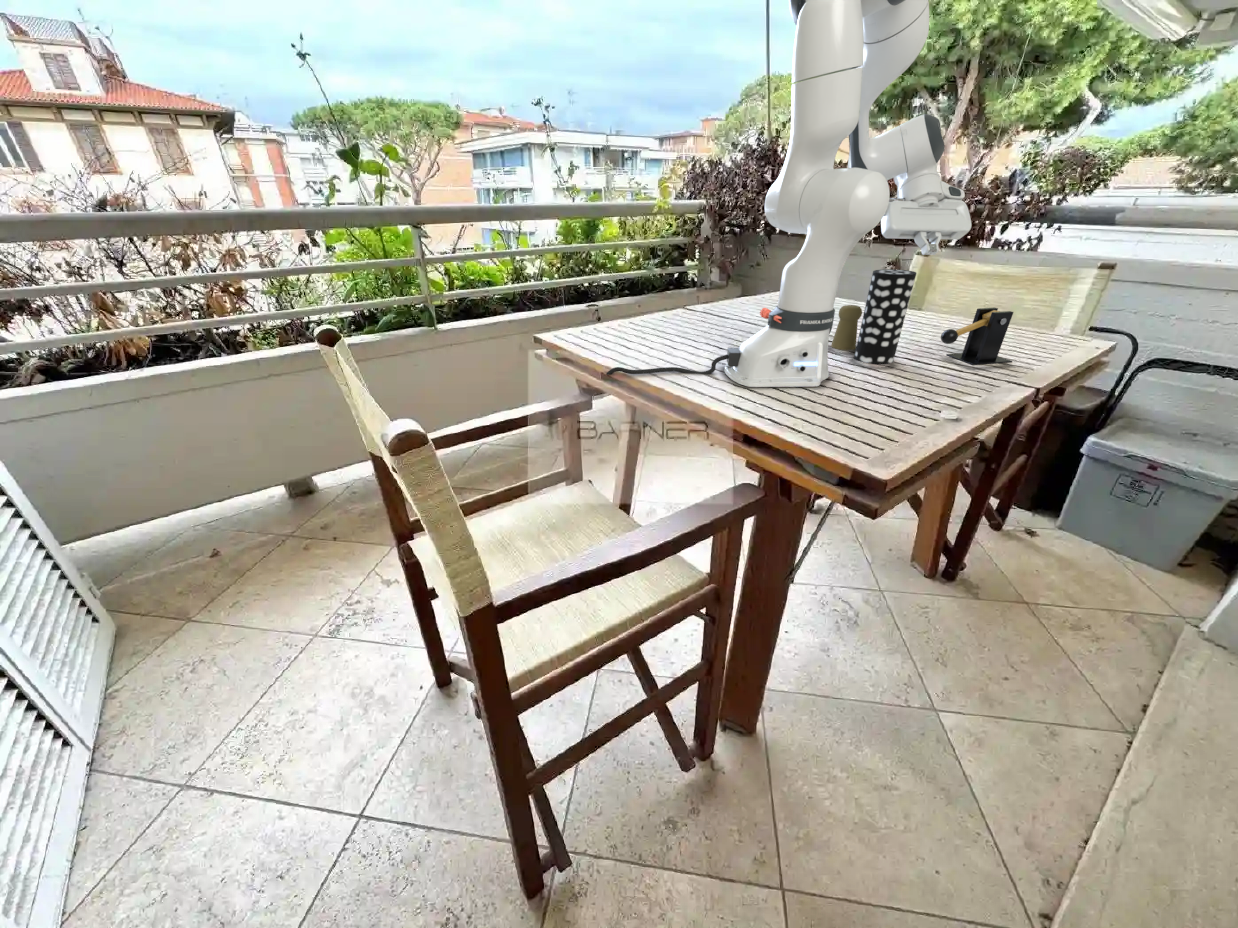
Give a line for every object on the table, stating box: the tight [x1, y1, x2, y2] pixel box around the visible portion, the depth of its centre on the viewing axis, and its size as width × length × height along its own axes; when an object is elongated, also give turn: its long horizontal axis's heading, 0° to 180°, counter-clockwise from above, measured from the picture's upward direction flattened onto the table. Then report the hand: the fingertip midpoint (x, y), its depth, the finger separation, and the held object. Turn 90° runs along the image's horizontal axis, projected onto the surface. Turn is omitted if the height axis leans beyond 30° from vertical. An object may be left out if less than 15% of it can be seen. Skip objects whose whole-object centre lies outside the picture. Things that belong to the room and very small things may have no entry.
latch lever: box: [940, 310, 1001, 345], centre depth 107 cm, size 13×3×3 cm, turn 99°
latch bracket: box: [945, 307, 1014, 366], centre depth 109 cm, size 10×8×12 cm
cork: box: [830, 304, 863, 351], centre depth 120 cm, size 6×6×11 cm
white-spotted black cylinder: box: [853, 268, 917, 365], centre depth 108 cm, size 8×8×20 cm
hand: (930, 253), depth 110 cm, fingers closed
